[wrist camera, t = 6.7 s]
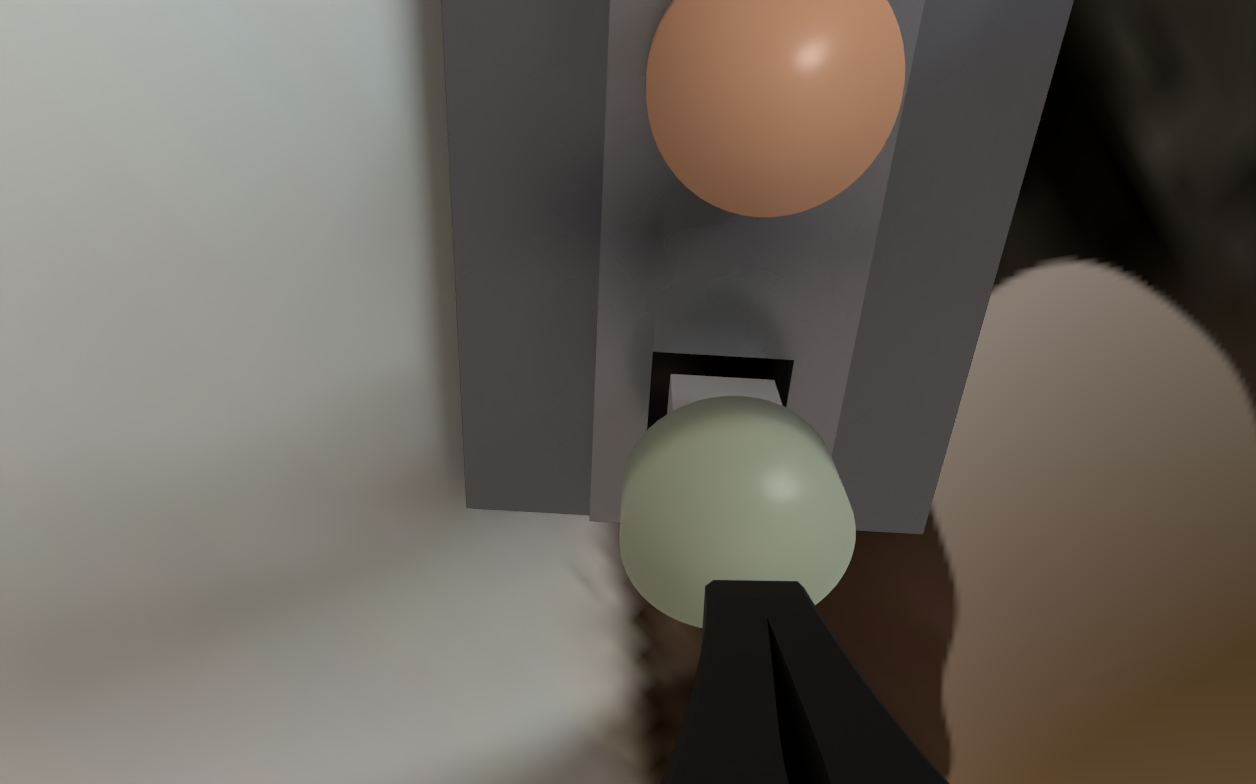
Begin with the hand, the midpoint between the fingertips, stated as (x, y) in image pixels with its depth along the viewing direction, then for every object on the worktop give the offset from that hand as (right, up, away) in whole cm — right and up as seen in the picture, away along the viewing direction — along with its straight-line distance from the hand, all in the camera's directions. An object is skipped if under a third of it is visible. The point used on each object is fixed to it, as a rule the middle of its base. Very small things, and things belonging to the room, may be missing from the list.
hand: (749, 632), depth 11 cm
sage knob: (0, +3, +6) cm, 6 cm away
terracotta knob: (+1, +10, +4) cm, 11 cm away
